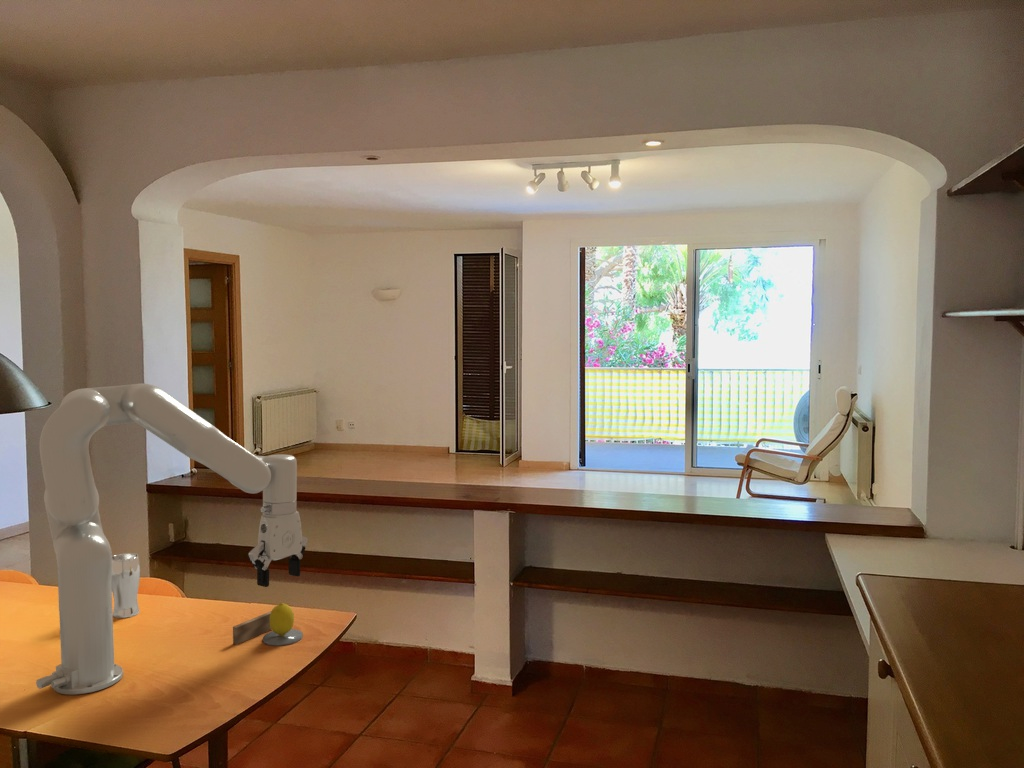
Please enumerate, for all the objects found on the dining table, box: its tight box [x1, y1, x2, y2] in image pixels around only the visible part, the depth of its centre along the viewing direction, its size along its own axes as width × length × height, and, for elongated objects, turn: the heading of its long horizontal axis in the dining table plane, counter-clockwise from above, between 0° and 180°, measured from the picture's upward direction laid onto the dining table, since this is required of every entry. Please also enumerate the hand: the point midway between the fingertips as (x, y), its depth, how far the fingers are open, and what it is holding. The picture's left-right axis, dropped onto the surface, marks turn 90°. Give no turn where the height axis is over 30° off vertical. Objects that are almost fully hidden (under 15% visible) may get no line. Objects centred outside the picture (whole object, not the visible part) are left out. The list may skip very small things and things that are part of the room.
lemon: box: [270, 602, 295, 636], centre depth 180 cm, size 6×6×8 cm
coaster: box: [262, 628, 304, 647], centre depth 181 cm, size 9×9×1 cm
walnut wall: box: [232, 610, 272, 646], centre depth 184 cm, size 16×1×4 cm, turn 151°
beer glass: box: [112, 552, 141, 619], centre depth 196 cm, size 7×7×15 cm
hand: (279, 580), depth 180 cm, fingers open, 9 cm apart
